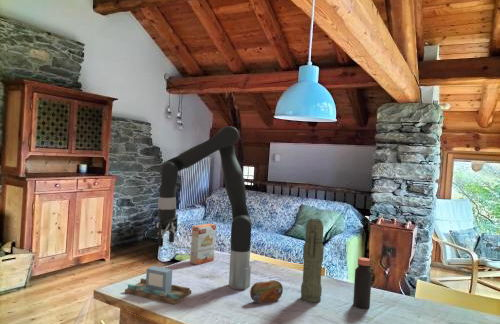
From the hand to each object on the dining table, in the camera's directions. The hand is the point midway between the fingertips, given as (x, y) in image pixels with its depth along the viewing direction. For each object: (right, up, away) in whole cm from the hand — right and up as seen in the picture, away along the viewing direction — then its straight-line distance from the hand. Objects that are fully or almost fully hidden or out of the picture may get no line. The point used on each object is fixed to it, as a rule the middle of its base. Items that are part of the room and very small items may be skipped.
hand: (166, 244), depth 158 cm
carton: (-3, -19, -2) cm, 19 cm away
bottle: (+84, -26, -4) cm, 88 cm away
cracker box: (+10, -21, +47) cm, 52 cm away
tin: (+44, -23, -4) cm, 50 cm away
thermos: (+63, -24, 0) cm, 68 cm away
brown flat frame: (-3, -21, -2) cm, 21 cm away
